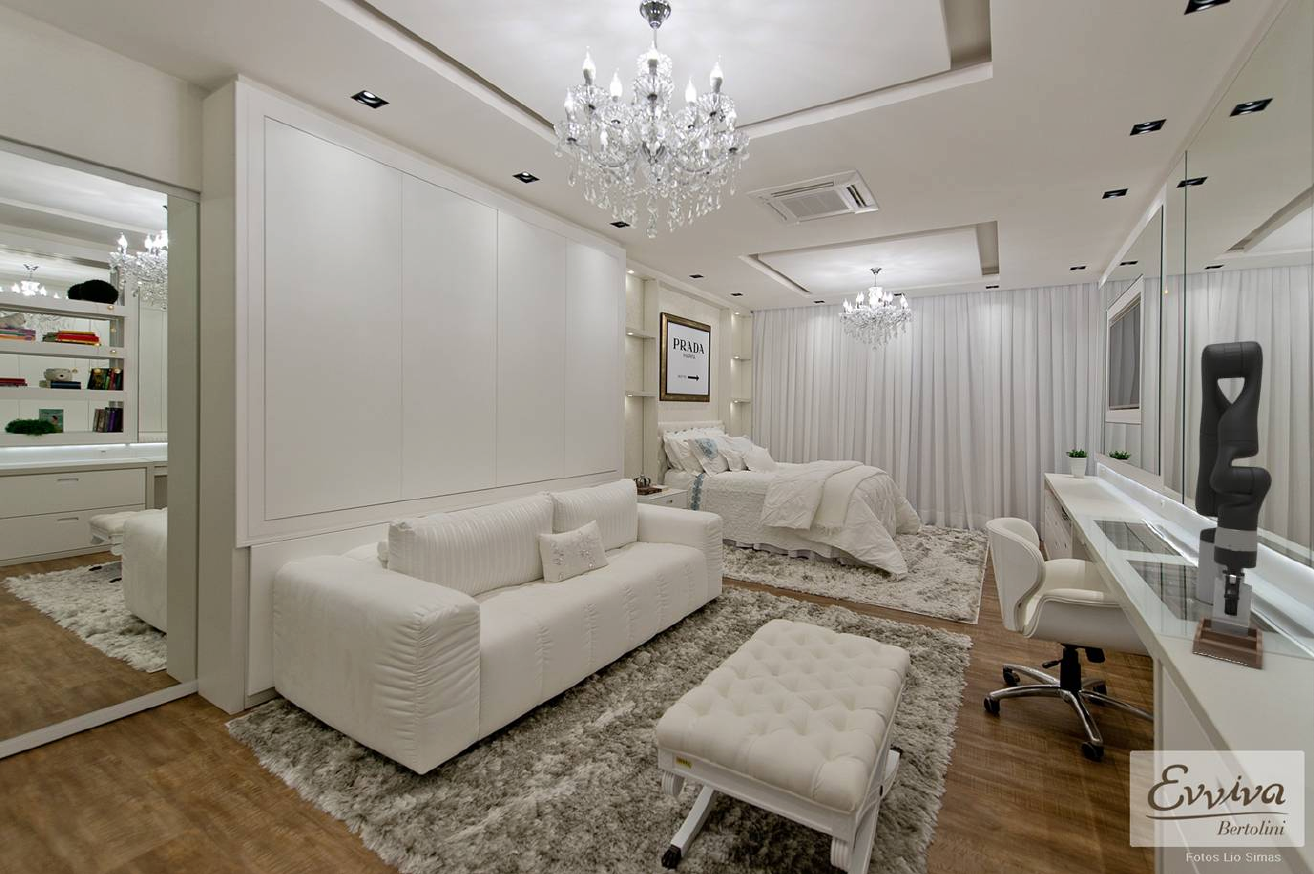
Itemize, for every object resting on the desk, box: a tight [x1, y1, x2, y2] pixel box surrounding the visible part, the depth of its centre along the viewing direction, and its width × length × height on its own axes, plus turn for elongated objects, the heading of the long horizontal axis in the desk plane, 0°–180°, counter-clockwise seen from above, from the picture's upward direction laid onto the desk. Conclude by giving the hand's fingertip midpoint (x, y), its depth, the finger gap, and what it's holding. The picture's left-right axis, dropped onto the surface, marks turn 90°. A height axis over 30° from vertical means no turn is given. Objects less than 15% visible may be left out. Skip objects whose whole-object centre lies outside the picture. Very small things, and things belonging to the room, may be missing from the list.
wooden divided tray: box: [1192, 614, 1263, 670], centre depth 132 cm, size 20×11×5 cm, turn 134°
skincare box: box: [1212, 578, 1253, 627], centre depth 143 cm, size 6×4×12 cm
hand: (1231, 610), depth 143 cm, fingers closed on skincare box, 7 cm apart
